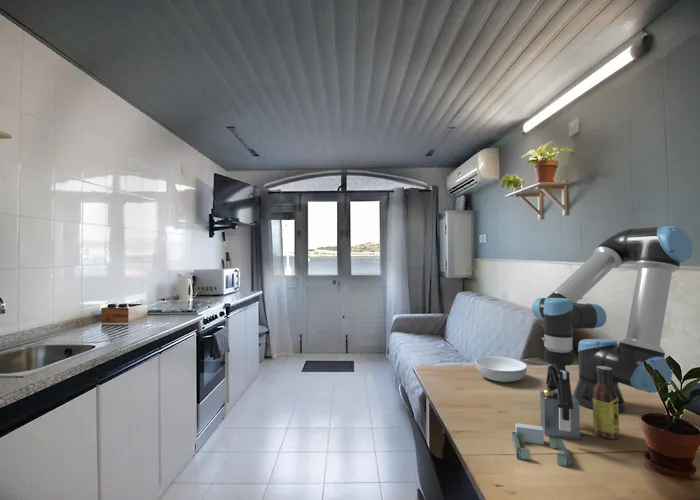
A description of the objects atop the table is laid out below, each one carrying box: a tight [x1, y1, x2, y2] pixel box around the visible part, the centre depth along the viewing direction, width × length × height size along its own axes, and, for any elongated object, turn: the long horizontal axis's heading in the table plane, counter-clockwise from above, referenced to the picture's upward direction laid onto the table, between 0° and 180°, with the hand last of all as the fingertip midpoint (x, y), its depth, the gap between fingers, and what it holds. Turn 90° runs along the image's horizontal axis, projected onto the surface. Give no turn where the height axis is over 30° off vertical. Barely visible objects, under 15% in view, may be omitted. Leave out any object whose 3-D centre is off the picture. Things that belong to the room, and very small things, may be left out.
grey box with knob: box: [539, 388, 581, 441], centre depth 106 cm, size 9×6×13 cm, turn 72°
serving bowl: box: [474, 355, 528, 383], centre depth 153 cm, size 21×21×7 cm
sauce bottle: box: [592, 366, 620, 440], centre depth 105 cm, size 6×6×20 cm
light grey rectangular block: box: [514, 422, 545, 445], centre depth 101 cm, size 7×2×4 cm, turn 72°
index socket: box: [511, 431, 572, 468], centre depth 95 cm, size 12×10×2 cm
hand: (558, 419), depth 106 cm, fingers open, 13 cm apart
